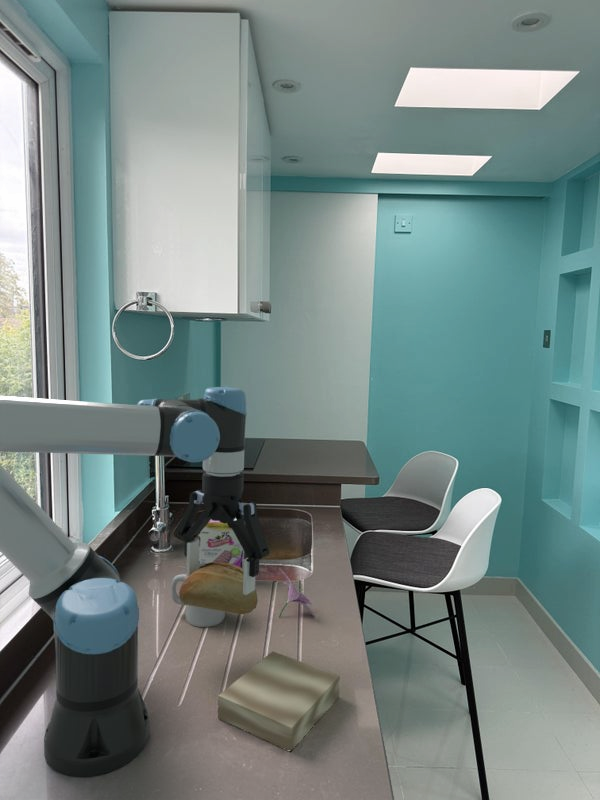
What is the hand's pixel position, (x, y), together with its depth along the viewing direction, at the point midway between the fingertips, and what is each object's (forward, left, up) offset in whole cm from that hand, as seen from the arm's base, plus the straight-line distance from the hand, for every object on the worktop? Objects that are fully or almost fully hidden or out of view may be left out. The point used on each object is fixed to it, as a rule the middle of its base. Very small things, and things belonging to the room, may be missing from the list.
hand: (219, 582), depth 109 cm
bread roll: (0, 0, -5) cm, 5 cm away
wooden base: (-5, -17, -16) cm, 24 cm away
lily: (+25, -2, -16) cm, 30 cm away
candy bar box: (+28, +22, -16) cm, 39 cm away
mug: (+11, +15, -16) cm, 25 cm away
